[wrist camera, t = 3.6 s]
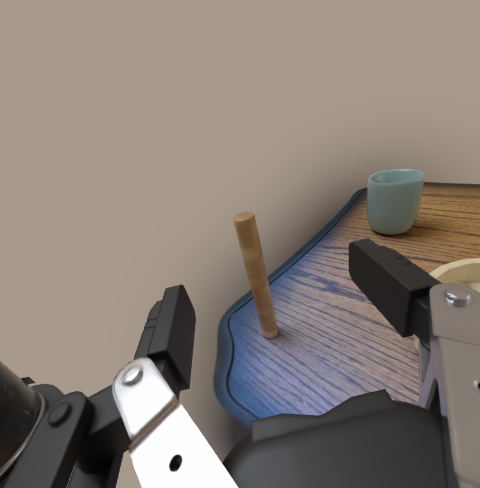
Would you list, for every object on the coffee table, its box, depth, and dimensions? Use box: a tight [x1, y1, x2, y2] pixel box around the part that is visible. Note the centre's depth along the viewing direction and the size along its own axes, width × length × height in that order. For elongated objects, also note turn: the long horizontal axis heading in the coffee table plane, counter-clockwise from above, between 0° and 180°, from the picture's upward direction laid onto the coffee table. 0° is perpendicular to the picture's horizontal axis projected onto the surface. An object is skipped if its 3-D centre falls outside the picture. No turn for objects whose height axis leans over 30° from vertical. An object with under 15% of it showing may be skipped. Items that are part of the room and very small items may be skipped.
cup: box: [367, 169, 424, 235], centre depth 40 cm, size 8×8×10 cm
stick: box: [233, 212, 278, 339], centre depth 25 cm, size 2×2×16 cm
